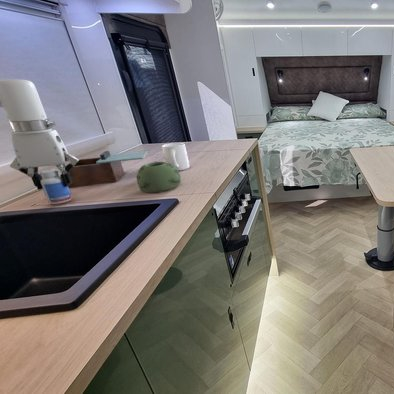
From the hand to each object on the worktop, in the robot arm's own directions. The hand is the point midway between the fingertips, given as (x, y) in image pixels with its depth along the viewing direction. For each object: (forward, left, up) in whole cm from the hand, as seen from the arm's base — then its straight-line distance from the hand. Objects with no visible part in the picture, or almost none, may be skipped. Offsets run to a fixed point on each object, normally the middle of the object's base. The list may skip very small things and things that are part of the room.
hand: (55, 186), depth 88 cm
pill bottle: (0, 0, -5) cm, 5 cm away
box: (+4, +23, -5) cm, 24 cm away
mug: (+31, +24, -6) cm, 39 cm away
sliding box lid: (+14, +23, +2) cm, 27 cm away
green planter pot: (+27, +3, -6) cm, 27 cm away
